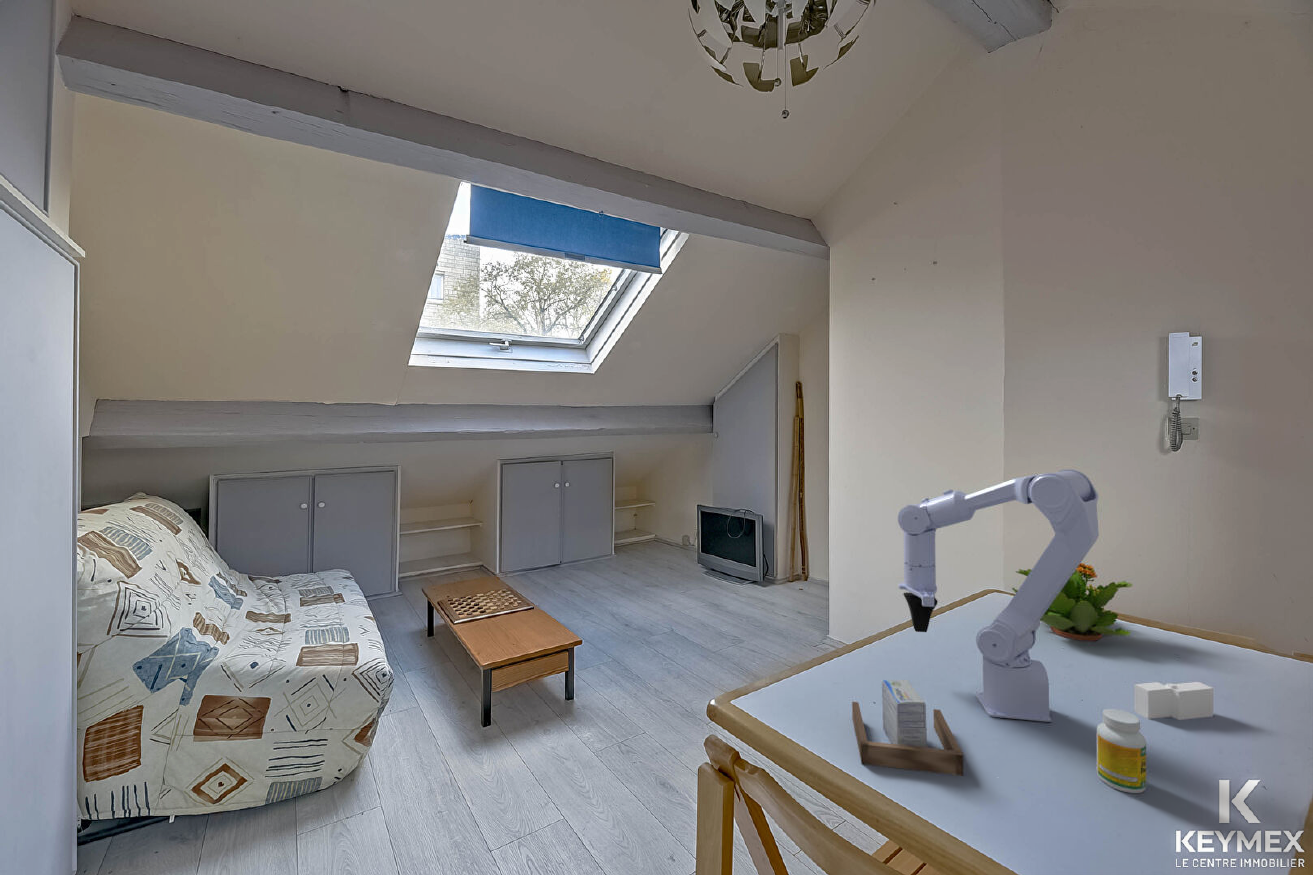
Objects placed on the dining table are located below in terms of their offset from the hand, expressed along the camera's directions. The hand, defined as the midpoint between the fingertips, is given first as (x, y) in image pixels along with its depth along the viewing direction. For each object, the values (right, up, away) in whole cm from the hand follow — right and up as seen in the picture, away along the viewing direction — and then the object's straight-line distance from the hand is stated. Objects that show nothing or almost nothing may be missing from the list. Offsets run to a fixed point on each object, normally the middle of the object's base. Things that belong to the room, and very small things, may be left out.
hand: (920, 630), depth 110 cm
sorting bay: (-14, -10, -22) cm, 28 cm away
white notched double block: (+36, -10, -15) cm, 40 cm away
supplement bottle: (+13, -10, -33) cm, 37 cm away
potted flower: (+46, -8, +20) cm, 51 cm away
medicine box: (-13, -11, -22) cm, 28 cm away
